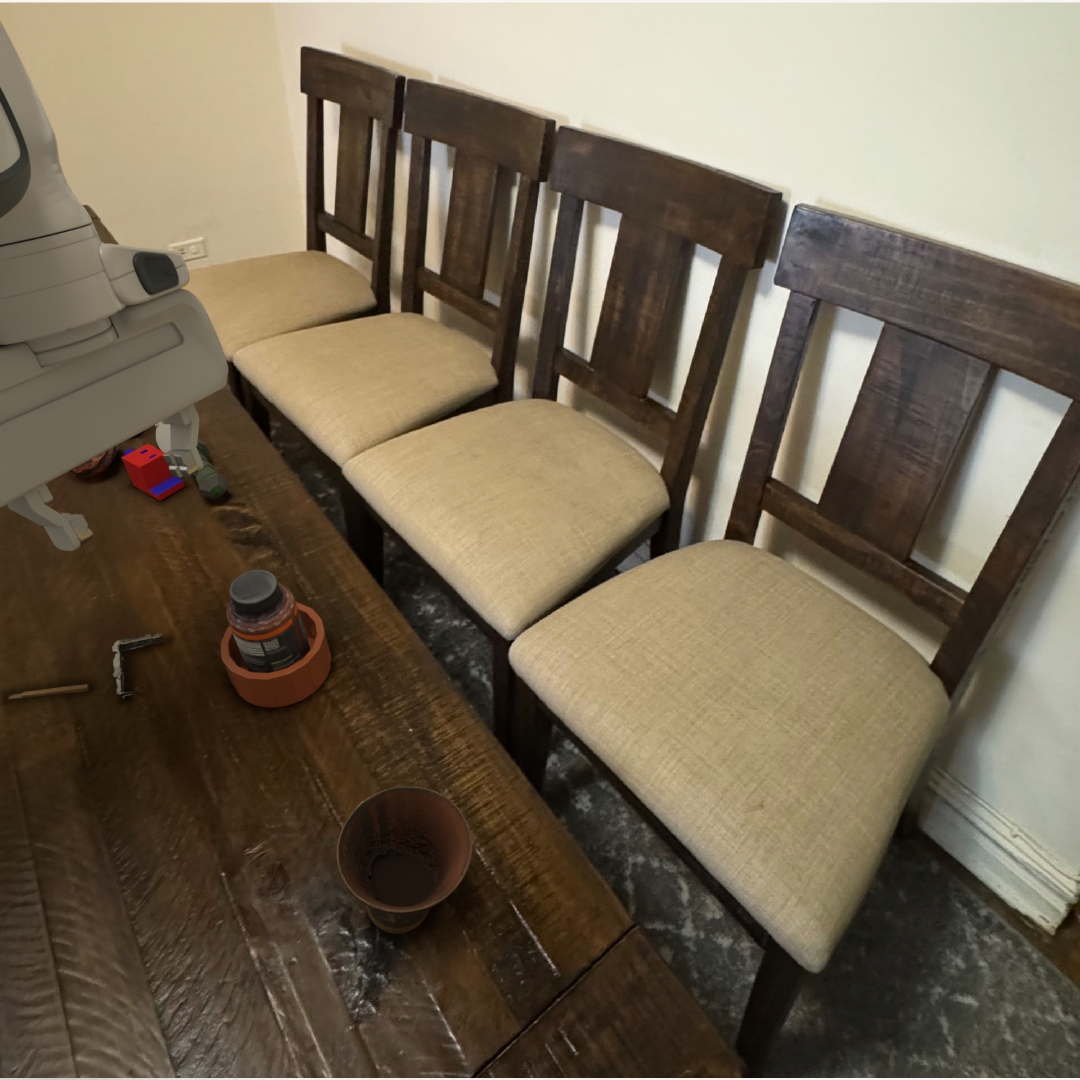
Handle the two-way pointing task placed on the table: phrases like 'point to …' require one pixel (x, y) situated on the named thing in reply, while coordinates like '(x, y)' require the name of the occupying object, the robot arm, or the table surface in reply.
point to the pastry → (96, 464)
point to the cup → (403, 854)
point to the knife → (207, 476)
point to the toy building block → (151, 472)
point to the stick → (51, 691)
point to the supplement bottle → (266, 622)
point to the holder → (286, 682)
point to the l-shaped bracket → (122, 646)
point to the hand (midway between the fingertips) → (137, 506)
